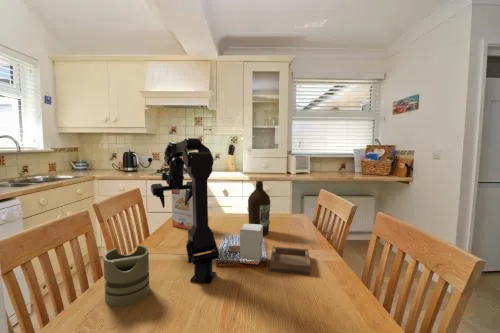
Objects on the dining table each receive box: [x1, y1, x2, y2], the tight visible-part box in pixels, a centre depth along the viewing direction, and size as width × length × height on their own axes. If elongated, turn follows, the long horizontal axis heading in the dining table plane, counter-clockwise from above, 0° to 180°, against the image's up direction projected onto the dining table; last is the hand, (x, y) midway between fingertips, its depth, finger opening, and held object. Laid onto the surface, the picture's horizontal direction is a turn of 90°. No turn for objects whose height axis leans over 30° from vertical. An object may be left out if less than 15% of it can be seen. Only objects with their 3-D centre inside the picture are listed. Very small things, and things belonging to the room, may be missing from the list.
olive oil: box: [247, 180, 271, 237], centre depth 122 cm, size 11×11×25 cm
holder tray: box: [269, 246, 312, 275], centre depth 92 cm, size 13×13×3 cm
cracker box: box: [171, 189, 193, 231], centre depth 129 cm, size 14×6×21 cm, turn 62°
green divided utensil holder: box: [102, 244, 150, 308], centre depth 72 cm, size 11×12×11 cm
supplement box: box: [239, 223, 264, 263], centre depth 94 cm, size 7×7×13 cm
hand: (174, 206), depth 110 cm, fingers open, 9 cm apart
